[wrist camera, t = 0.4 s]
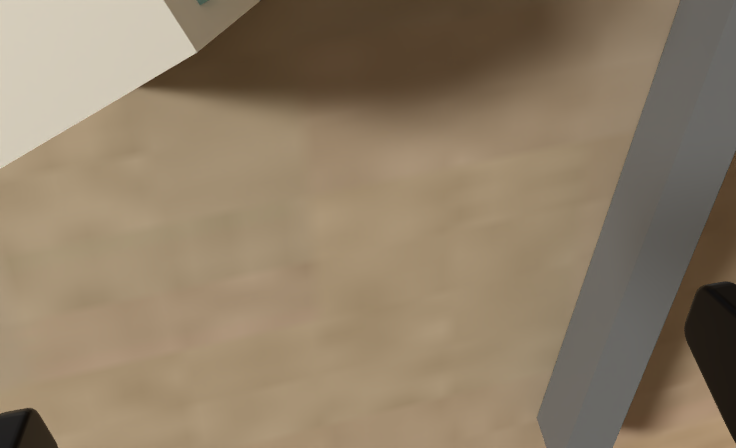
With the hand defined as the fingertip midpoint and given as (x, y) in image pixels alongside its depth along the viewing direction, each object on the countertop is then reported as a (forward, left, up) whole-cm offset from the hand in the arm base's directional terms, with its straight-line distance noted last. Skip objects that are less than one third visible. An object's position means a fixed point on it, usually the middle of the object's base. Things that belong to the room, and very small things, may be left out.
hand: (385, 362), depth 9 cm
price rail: (-1, -9, -14) cm, 16 cm away
